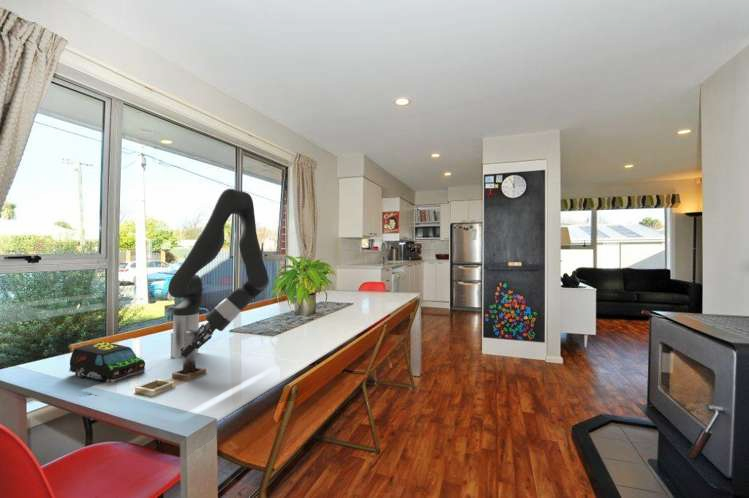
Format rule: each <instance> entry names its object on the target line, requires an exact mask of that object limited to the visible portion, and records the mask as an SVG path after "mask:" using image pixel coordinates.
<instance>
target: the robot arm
mask: <svg viewBox="0 0 749 498" xmlns="http://www.w3.org/2000/svg"><path fill="white" fill-rule="evenodd" d="M254 206H255V205H254V201H253V198H252V196H251V194H250V193H248V192H246V191H243V190H239V189H235V188H227V189H224V190H223V191H222V192H221V194H220V195H219V197H218V199H217V201H216V203H215V205H214V207H213V210H212V212H211V215H210V217H209V219H208V220H207V223H206V224H205V226H204V228H203V230H202V231H201V232H200V234H199V235H198V237H197V239H196V241H195V242H194V245H193V246H192V248H191V250H190V252H188V255H187V256H186V257H185V259H184V261H183V262H182V264H181V265H180V267H179V268H178V269H177V270H176V271H175V273H174V274H173V275H172V277H171V279H170V280H169V283H168V288H167V289H168V293H169V295H170V297H172V298H176V299H177V298H178V299H182V298H183V300H182V301H181V302H180V303H179V304H177V305H176V306H174V308H172V309H173V310H172V311H173V312H172V317H173V318H172V332H171V334H170V357H172V358H173V359H177V358H180V357H182V358H183V357H185V358H186V357H187V356H188V355H189V354H190V353H191V352H192V351H193V350H194V349H196V354H199V349H200V348H201V347H203V345H205V343H207V342H208V341H210V339H212V336H213V335H214V332H215V331H216V330H218V331H219V332H223V331H224V330H225V329H226V328H227V327H228V326H230V324H231V323H232V322H233V320H235V319H236V318H238V315H239V314H240V313H241V312H242V311H244V309H245V308H246V307H247V306H249V304H250V303H251V301H253V300H254V299H255V298H256V297H257V296H259V294H261V293H262V292H263V291H264V290H265V289H266V288H267V287H268V285H269V283H270V279H269V274H268V271H267V268H266V266H265V263H264V258H263V254H262V250H261V246H260V243H259V238H258V234H257V226H256V225H257V224H256V217H255V215H256V214H255V207H254ZM232 214H233V215H236V216H237V215H238V216H239V219H240V222H241V233H240V237H239V242H238V244H239V245H238V246H239V250H240V251H239V252H240V255H241V259H242V262H243V264H244V268H245V272H246V279H247V280H246V281H245V282H244V283H243V284H242V285H241V286H239V287H236V288H235V289H234V290H232V291H231V293H230V294H229V295H227V297H225V298H224V299H223V300H221V301H220V302H219V303H218V304H217V305H216V306H215V307H214V308H213V309H211V310H210V312H208V313H207V315H205V317H204V319H205V320H206V322H207V323H205V324H204V323H202V324H201V325H200V308H201V306H202V298H203V281H202V278H201V277H200V275H198V274H197V273H198V272H199V271H200V270H202V269H204V268H205V267H206V266H208V265H209V264H210V263H211V262H213V260H215V259H216V258H217V256H218V255H219V254H220V252H221V250H222V248H223V247H224V245H225V237H226V236H225V225H226V224H227V221H228V220H229V218H230V217H231V215H232ZM188 330H196V331H197V335H196V336H195V337H194V338H195V339H194V340H193V341H192V342H191V343H190V345H188V346H187V347H186V348H185V349H184V350H183V338H184V331H188Z"/></svg>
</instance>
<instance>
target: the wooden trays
mask: <svg viewBox="0 0 749 498" xmlns="http://www.w3.org/2000/svg"><path fill="white" fill-rule="evenodd" d="M206 374H207V369H206V368H202V367H197V366H196V370H195V371H193V372H188V373H185V372H183V368H182V369H180V370H178V371H174V372H172V373H171V378H168V379H161V378H160V379H159V378H157V379H153V380H152V381H148V382H146V383H144V384H140V385H137V386H135V387H134V392H133V394H134V395H138V396H144V397H147V398H152V397H156V396H157V395H159V394H162V393H164V392H166V391H168V390H171V389H173V388H175V387H178V386H180V385H183V384H184V383H188V382H190V381H193V380H194V379H196V378H199V377H201V376H203V375H206Z"/></svg>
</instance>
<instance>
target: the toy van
mask: <svg viewBox="0 0 749 498" xmlns="http://www.w3.org/2000/svg"><path fill="white" fill-rule="evenodd" d="M145 371H146V362H145V360H144V359H143V358H140V357H138V356H137V355H136V353H135V352H134V350H133V349H132V347H130V346H126V345H121V344H118V343H117V344H116V343H111V342H103V341H100V342H99V341H98V342H95V343H90V344H84V345H81V346H77V347H74V348H73V350H72V353H71V355H70V358H69V369H68V372H70V373H75V374H74V375H75V378H77V379H84V378H85V377H87V378H92V379H96V380H100V381H103V383H106V382H110V383H112V384H113V383H117V382H119V381H122V380H125V379H128V378H132V377H134V376H137V375H141V374H143V373H145Z"/></svg>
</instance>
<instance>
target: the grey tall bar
mask: <svg viewBox="0 0 749 498" xmlns="http://www.w3.org/2000/svg"><path fill="white" fill-rule="evenodd" d="M196 335H197V331H196V330H188V331H184V338H183V350H184V349H185V348H186V347H187V346H188V345H190V343H191V342H192V341H193V340H194V339H195V338H194V337H195V336H196ZM196 365H197V353H196V349H194V350H193V351H192V352H191V353H190V354H189V355H188V356H187V357H186V358H185V357H183V356H182V369H183V372H185V373H188V372H193V371H195V370H196V367H197V366H196Z"/></svg>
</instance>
